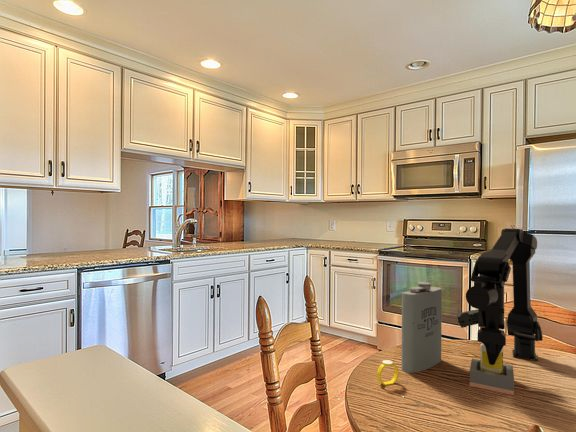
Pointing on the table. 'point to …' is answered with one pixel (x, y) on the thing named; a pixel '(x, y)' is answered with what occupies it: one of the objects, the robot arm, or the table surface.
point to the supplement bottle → (485, 364)
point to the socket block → (492, 378)
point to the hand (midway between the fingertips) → (491, 360)
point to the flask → (421, 327)
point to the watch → (384, 364)
